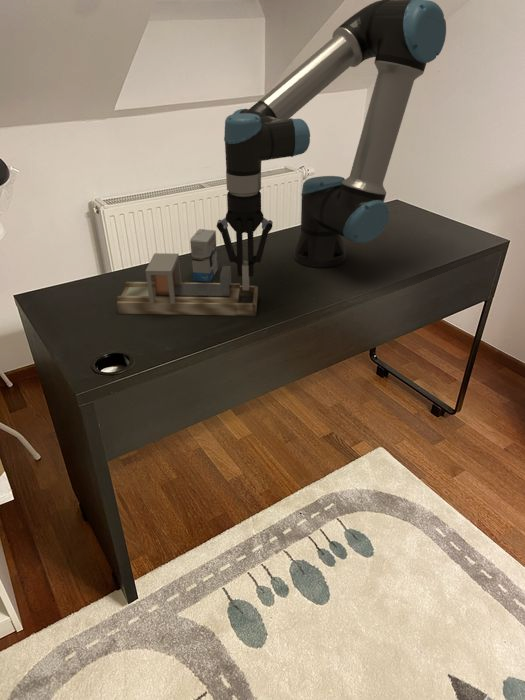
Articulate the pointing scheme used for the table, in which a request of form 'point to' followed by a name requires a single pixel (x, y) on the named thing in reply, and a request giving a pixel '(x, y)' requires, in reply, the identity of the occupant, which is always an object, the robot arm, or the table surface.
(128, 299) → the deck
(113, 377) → the table surface
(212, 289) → the sled
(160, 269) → the tunnel
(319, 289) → the table surface
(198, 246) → the ink box
